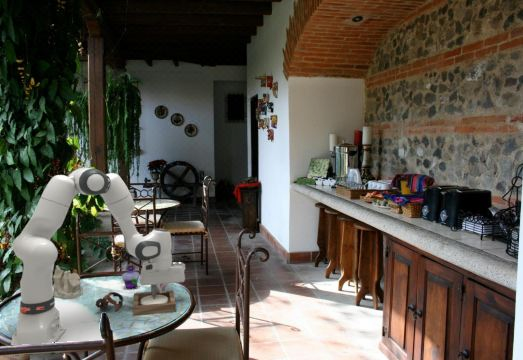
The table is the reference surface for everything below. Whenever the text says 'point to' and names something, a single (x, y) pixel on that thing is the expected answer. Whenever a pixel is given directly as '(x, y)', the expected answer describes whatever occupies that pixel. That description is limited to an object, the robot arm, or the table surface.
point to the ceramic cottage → (66, 285)
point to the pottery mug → (110, 301)
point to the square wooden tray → (153, 308)
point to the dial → (154, 298)
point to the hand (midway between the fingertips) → (162, 292)
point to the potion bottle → (130, 277)
